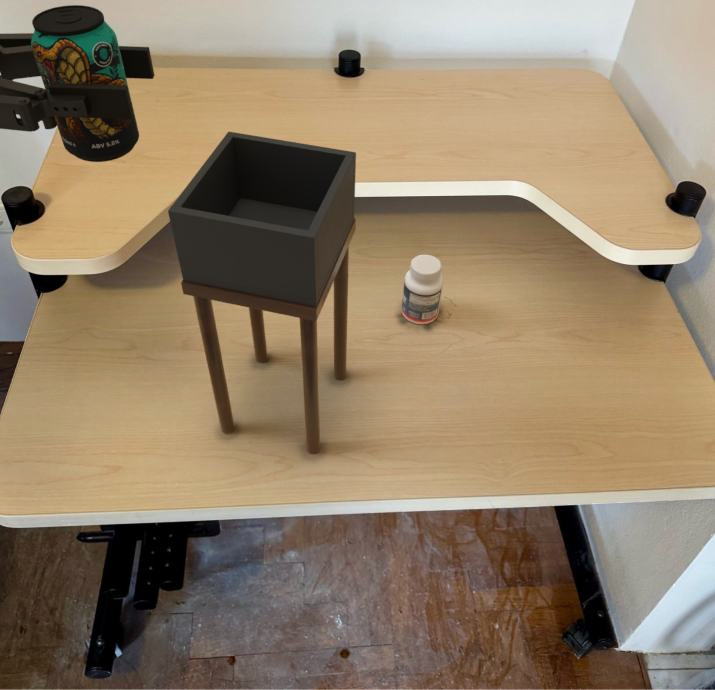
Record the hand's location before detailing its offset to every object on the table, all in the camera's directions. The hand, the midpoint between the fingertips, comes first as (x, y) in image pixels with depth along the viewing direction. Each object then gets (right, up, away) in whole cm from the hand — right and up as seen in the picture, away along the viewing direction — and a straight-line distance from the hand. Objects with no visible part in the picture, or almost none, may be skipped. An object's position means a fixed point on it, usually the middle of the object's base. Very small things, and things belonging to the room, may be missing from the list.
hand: (140, 82), depth 60 cm
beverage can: (-5, -4, +5) cm, 8 cm away
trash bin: (+11, -14, +5) cm, 19 cm away
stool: (+11, -31, +22) cm, 39 cm away
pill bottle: (+28, -19, +34) cm, 48 cm away
